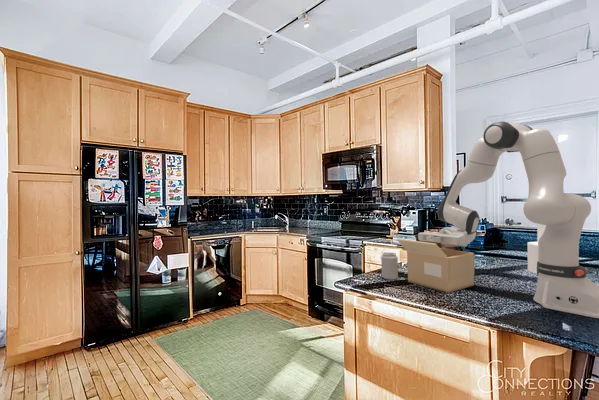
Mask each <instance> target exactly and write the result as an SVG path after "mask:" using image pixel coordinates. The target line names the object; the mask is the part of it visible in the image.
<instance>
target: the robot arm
mask: <svg viewBox="0 0 599 400" xmlns="http://www.w3.org/2000/svg"><path fill="white" fill-rule="evenodd" d="M482 136H483V137H481V138H480V137H479V139H477V140H476V141H475V143H474V145H473V147H472V149H471V151H470V154H469V157H468V159H467V163H466V165H465V166H464V167H463V169H460V170H458V171H457V172H456V174H455V176H454V177H453V180H451V183H450V185H449V187H448V188H447V192H446V194H445V196H444V198H443V200H442V201H441V203H440V204H439V206H438V208H437V211H436V212H437V218H439V220H440V221H441V222H444V223H447V224H450V225H453V226H447V227H443V228H441V229H440V230H439V231H438V232H434V231H433V232H432V231H424V232H418V234H417V238H418V240H417V241H420V242H428V243H436V244H441V245H442V246H443V247H445V248H452V247H453V248H454V247H468V244H469V243H471V242H473V241H475V238H476V236H477V230H478V228H479V226H480V223H481V222H480V221H481V218H480V216H479V213H478V212H477V210H474V209H472V208H468V207H465V206H462V205H460V204H457V202H456V201H457V200H458V197H459V195H460V193H461V191H462V189H463V188H464V187H465V186H467V185H469V184H470V185H471V184H479V183H484V182H487V181H488V180H490V179H491V178H492V177H493V176H494V173H495V171H496V169H497V165H498V163H499V162H498V161H499V160H500V156H501V155H503V153H515V152H516V153H518V152H519V153H520V156H521V159H522V162H523V165H524V170H525V174H526V178H527V180H528V181H527V183H528V196H527V200H526V201H525V202H524V203H523V204H524V205H523V207H522V208H523V211H522V212H523V214H524V216H525V217H526V219H527V220H528V221H530V222H531V223H534V224H536V225H537V224H541V225H546V227H545V230H544V233H543V235H542V236H541V237H540V238H539V241H538V262H537V273H536V276H537V283H536V288H535V289H536V290H535V293H534V296H533V298H532V299H533V301H534V302H536V303H538V304H540V305H541V306H542V307H543V308H545V309H549V310H554V311H559V312H563V313H568V314H573V315H580V316H584V317H588V318H594V319H599V285H597V284H596V282H593V281H592V280H590V279H589V278H588V277H587V272H588V268H587V267H586V268H584V267H583V266H581V265H580V259H579V256H580V254H579V252H580V250H579V249H580V248H579V247H580V238H581V235H582V232H583V228H584V224H585V222H586V220H587V218H588V217H589V216H590V214H591V212H592V205H591V203H590V201H589V200H588V199H587V198H586V197H584V196H581V195H579V194H576V193H572V192H571V193H569V192H567V193H566V192H564V191H565V190H564V181H565V180H564V179H565V178H566V176H567V170H566V167H565V164H564V161H563V157H562V155H561V152H560V149H559V147H558V145H557V144H558V143H556V140H555V139H554V137H553V135H552V133H551V132H550V131H549V130H548V129H545V128H541V127H539V128H532V127H530V125H529V126H528V125H525V124H521V123H518V122H509V121H497V122H493V123H491V124H489V125H488V126H487V127H486V128H485V129H484V132H483V135H482Z"/></svg>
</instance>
